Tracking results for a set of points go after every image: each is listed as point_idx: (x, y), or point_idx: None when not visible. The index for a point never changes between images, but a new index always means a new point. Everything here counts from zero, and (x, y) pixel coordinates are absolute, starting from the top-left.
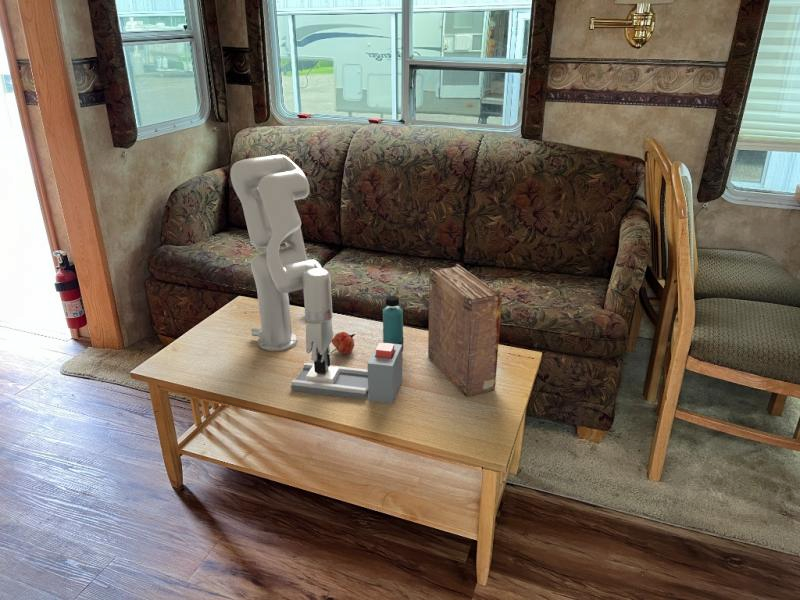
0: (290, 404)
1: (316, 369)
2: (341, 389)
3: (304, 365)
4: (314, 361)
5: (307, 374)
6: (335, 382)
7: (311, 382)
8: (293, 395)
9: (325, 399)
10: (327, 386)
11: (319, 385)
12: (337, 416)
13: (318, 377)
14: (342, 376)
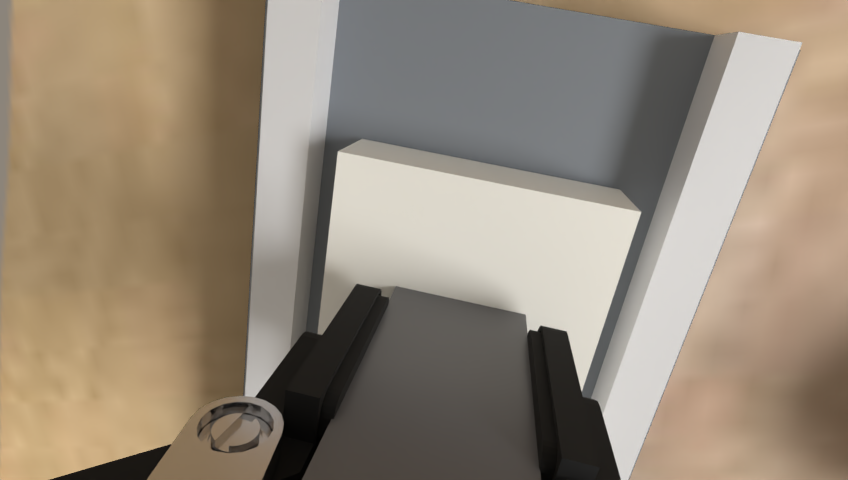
0: (70, 23)
1: (299, 341)
2: None
3: (726, 50)
4: (211, 416)
5: (373, 167)
6: None
7: (282, 219)
8: (214, 18)
9: (206, 320)
10: (250, 376)
11: (252, 303)
12: (34, 410)
13: (321, 307)
14: None
